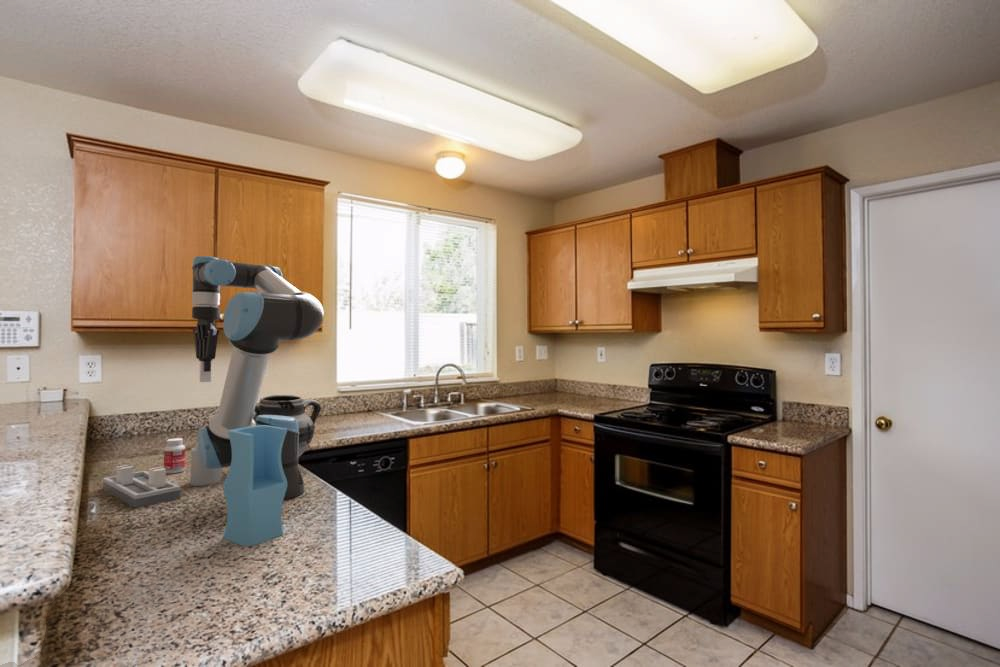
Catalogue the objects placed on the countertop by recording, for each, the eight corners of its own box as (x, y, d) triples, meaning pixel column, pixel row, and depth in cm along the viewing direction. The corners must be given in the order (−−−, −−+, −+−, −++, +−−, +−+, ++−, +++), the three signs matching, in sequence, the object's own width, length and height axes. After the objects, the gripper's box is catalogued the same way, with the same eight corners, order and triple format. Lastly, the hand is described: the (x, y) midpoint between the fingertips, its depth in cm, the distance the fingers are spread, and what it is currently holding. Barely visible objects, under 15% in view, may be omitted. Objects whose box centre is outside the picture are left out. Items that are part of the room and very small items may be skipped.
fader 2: (165, 486, 149) (166, 468, 149) (153, 488, 146) (154, 470, 146) (160, 483, 151) (160, 466, 151) (148, 486, 149) (149, 468, 149)
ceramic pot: (309, 454, 202) (310, 391, 202) (330, 466, 184) (331, 397, 184) (229, 465, 184) (230, 396, 184) (244, 479, 166) (245, 402, 166)
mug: (219, 484, 160) (219, 449, 160) (187, 487, 157) (188, 451, 157) (224, 474, 171) (224, 442, 171) (194, 477, 168) (195, 444, 168)
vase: (247, 547, 113) (248, 435, 113) (222, 537, 118) (224, 430, 118) (286, 533, 121) (288, 428, 121) (261, 524, 126) (263, 424, 127)
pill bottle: (172, 474, 170) (173, 441, 170) (159, 473, 172) (159, 440, 172) (189, 470, 176) (189, 438, 176) (175, 468, 178) (176, 437, 178)
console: (180, 498, 146) (180, 486, 146) (135, 508, 137) (135, 495, 137) (144, 481, 162) (145, 470, 163) (102, 489, 154) (102, 478, 154)
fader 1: (133, 483, 151) (133, 466, 151) (120, 485, 149) (121, 468, 149) (128, 481, 153) (128, 464, 153) (116, 483, 151) (116, 465, 151)
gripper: (228, 306, 158) (227, 382, 158) (209, 307, 166) (208, 380, 165) (202, 305, 152) (201, 384, 152) (184, 306, 160) (183, 381, 159)
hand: (205, 381), depth 159 cm, fingers closed
